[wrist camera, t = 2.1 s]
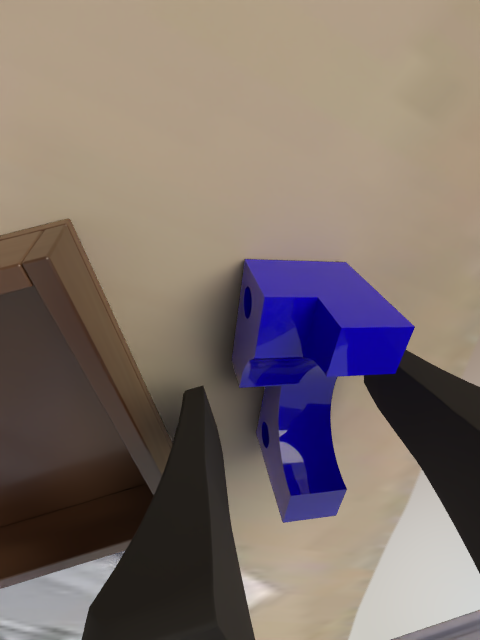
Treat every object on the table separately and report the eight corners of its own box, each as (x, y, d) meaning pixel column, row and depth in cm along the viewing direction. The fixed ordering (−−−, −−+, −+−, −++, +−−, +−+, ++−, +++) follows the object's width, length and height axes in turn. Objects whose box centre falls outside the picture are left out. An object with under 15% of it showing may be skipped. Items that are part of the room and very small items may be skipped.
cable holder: (244, 259, 12) (281, 328, 9) (346, 262, 13) (414, 326, 9) (221, 435, 16) (240, 528, 13) (299, 429, 17) (335, 515, 14)
